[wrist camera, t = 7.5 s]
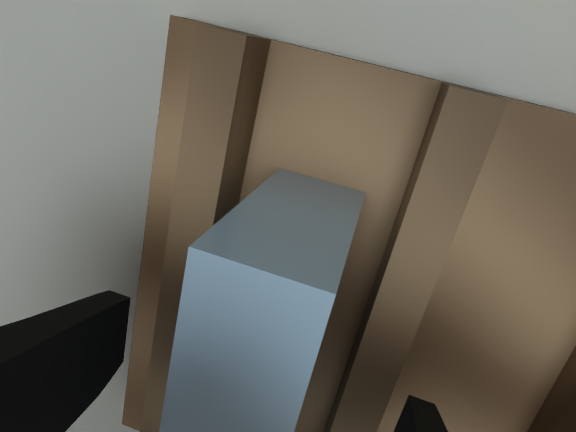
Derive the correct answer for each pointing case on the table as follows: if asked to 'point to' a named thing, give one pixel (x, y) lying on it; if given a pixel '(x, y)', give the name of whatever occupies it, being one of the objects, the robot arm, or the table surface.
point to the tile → (258, 307)
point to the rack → (377, 230)
